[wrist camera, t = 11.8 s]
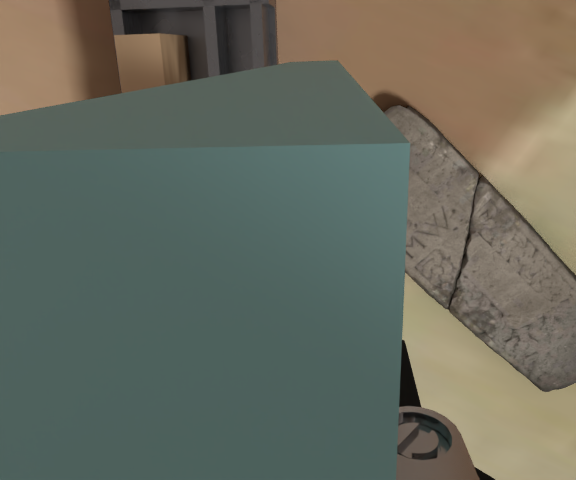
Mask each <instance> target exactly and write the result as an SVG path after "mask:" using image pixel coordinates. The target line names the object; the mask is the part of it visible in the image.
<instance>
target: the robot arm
mask: <svg viewBox="0 0 576 480" xmlns="http://www.w3.org/2000/svg"><path fill="white" fill-rule="evenodd" d="M396 480H495V479H494V478H492V477H490V476H489V475H487V474H485V473H484V472H482V471H480V470H479V469H477V468H475V467H474V465H473V463H472V460H471V458H470V455H469V453H468V450H467V448H466V446H465V443H464V441H463V438H462V436H461V434H460V432H459V431H458V429H457V427H456V426H455V425H454V424H453V423H452V422H451V421H450V420H449V419H447V418H446V417H445V416H443V415H441V414H439V413H437V412H435V411H433V410H429V409H425V408H422V407H421V404H420V400H419V396H418V392H417V388H416V384H415V380H414V376H413V372H412V368H411V364H410V360H409V356H408V352H407V348H406V344H405V341H404V340H402V349H401V373H400V396H399V420H398V444H397V467H396Z"/></svg>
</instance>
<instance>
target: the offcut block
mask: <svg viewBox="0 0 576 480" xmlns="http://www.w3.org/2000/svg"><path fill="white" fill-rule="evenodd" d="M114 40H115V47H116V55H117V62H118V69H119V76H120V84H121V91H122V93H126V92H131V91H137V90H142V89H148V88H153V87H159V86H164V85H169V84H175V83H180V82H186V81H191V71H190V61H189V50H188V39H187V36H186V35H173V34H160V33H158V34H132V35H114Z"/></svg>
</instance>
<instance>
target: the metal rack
mask: <svg viewBox="0 0 576 480" xmlns="http://www.w3.org/2000/svg"><path fill="white" fill-rule="evenodd" d="M109 6H110V13H111V21H112V28H113V35H132V34H158V33H160V34H173V35H186V36H187V39H188V50H189V61H190V71H191V80H197V79H202V78H208V77H213V76H218V75H224V74H229V73H235V72H240V71H246V70H251V69H257V68H262V67H267V66H273V65H278V46H277V20H276V0H109ZM114 42H115V40H114ZM115 50H116V47H115ZM116 57H117V55H116ZM117 64H118V62H117ZM118 71H119V69H118ZM119 79H120V76H119ZM120 86H121V84H120ZM121 93H122V91H121Z"/></svg>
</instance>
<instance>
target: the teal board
mask: <svg viewBox="0 0 576 480" xmlns="http://www.w3.org/2000/svg"><path fill="white" fill-rule="evenodd" d="M409 161H410V142H409V141H408V140H407V139H406V138H405V137H404V135H403V134H402V133H401V132H400V131H399V130H398V129H397V127H396V126H395V125H394V124H393V123H392V122H391V121H390V120H389V118H388V117H387V116H386V115H385V114H384V113H383V112H382V110H381V109H380V108H379V107H378V106H377V105H376V104H375V102H374V101H373V100H372V99H371V98H370V97H369V96H368V94H367V93H366V92H365V91H364V90H363V89H362V88H361V87H360V85H359V84H358V83H357V82H356V81H355V80H354V79H353V77H352V76H351V75H350V74H349V73H348V72H347V71H346V69H345V68H344V67H343V66H342V65H341V64H340V63H339V62H338V60H337V61H308V62H289V63H284V64H278V65H273V66H267V67H262V68H257V69H251V70H246V71H240V72H235V73H229V74H224V75H218V76H213V77H208V78H202V79H197V80H191V81H186V82H180V83H175V84H169V85H164V86H159V87H153V88H148V89H142V90H137V91H131V92H126V93H121V94H115V95H110V96H104V97H99V98H93V99H88V100H82V101H77V102H72V103H66V104H61V105H55V106H50V107H44V108H39V109H34V110H28V111H23V112H17V113H12V114H6V115H1V116H0V480H396V467H397V444H398V420H399V396H400V373H401V349H402V326H403V302H404V279H405V255H406V231H407V208H408V184H409Z"/></svg>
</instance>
